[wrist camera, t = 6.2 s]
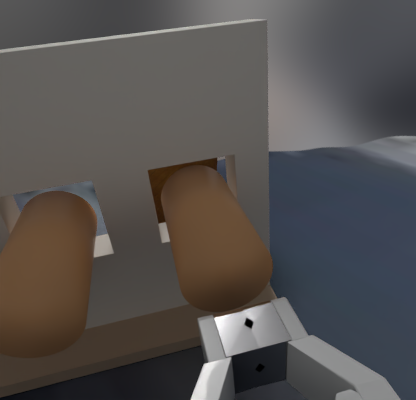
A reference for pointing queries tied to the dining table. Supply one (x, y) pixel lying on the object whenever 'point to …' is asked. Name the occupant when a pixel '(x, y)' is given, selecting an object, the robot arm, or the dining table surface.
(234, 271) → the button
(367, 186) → the dining table surface
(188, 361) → the dining table surface
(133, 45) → the panel
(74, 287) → the button middle
